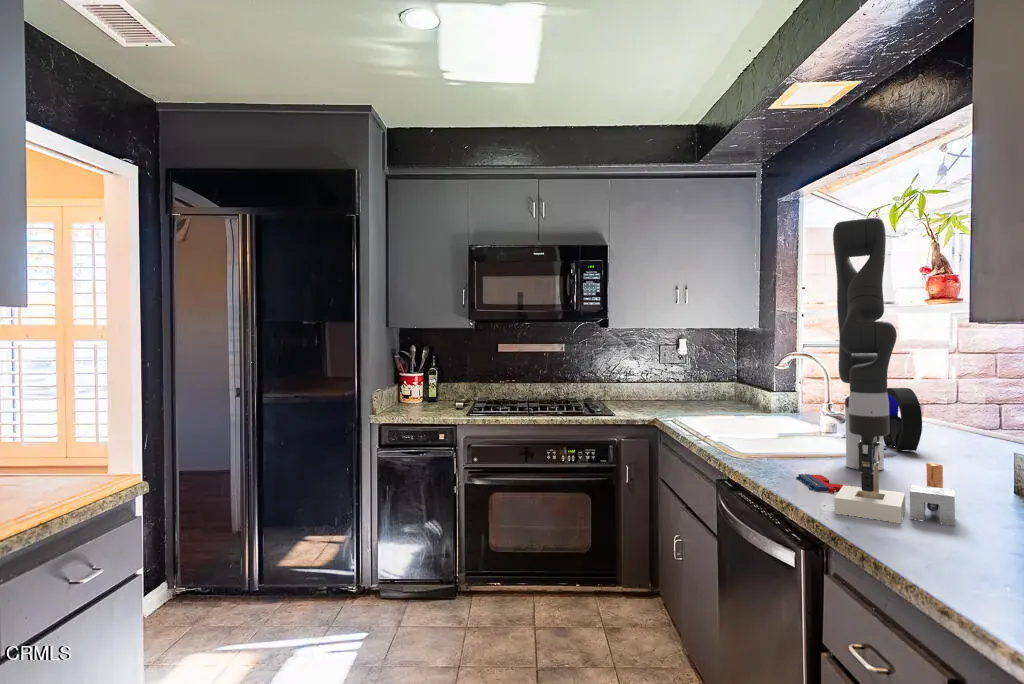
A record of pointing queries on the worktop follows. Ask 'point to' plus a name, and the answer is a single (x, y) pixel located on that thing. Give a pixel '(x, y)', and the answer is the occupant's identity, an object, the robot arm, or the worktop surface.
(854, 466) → the robot arm
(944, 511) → the pin mount
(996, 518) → the worktop surface
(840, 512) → the socket block
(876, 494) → the dowel
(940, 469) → the lock pin
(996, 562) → the worktop surface
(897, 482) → the worktop surface
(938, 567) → the worktop surface
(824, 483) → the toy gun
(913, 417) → the headphones
